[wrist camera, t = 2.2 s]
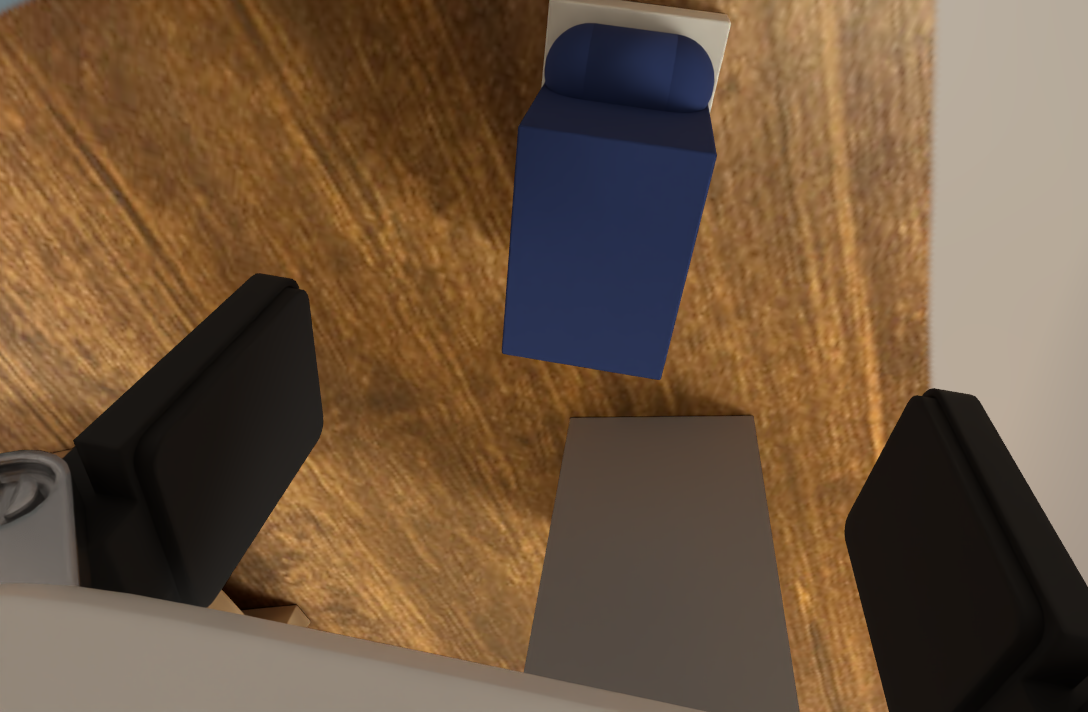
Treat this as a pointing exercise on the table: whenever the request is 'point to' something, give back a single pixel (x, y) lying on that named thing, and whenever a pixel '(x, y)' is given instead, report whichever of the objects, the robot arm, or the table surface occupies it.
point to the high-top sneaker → (611, 183)
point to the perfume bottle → (664, 567)
